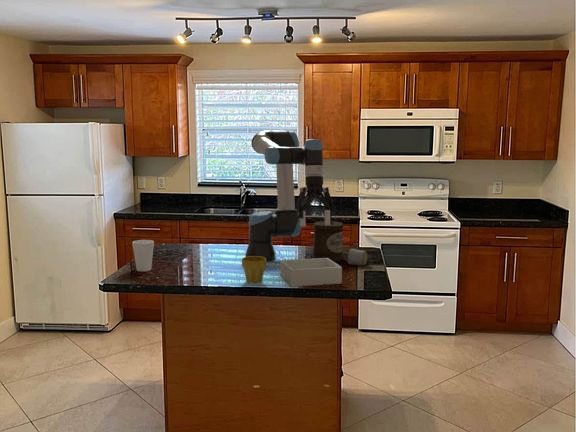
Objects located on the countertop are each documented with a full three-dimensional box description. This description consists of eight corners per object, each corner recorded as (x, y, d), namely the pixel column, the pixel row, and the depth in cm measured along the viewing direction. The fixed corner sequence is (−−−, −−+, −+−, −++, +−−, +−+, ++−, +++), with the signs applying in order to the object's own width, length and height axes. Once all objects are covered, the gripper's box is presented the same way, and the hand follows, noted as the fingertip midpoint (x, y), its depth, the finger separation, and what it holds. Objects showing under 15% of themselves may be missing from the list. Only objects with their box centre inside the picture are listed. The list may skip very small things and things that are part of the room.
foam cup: (158, 268, 250) (157, 240, 248) (147, 273, 241) (146, 244, 239) (140, 266, 253) (140, 239, 251) (128, 271, 244) (128, 242, 242)
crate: (280, 275, 239) (280, 260, 238) (327, 273, 245) (327, 257, 244) (291, 286, 222) (291, 270, 221) (341, 283, 228) (341, 267, 227)
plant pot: (247, 285, 223) (247, 262, 222) (238, 279, 232) (238, 257, 231) (270, 282, 228) (270, 259, 226) (260, 276, 237) (260, 255, 235)
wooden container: (333, 263, 264) (335, 218, 261) (307, 259, 272) (308, 216, 269) (347, 257, 277) (348, 215, 273) (321, 254, 284) (322, 212, 281)
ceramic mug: (363, 267, 257) (364, 251, 256) (347, 265, 260) (347, 249, 259) (369, 263, 266) (369, 247, 265) (353, 261, 269) (353, 246, 268)
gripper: (296, 174, 220) (297, 227, 221) (341, 175, 235) (343, 224, 235) (285, 176, 226) (286, 226, 227) (330, 176, 241) (331, 224, 242)
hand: (315, 225), depth 231 cm, fingers open, 13 cm apart
